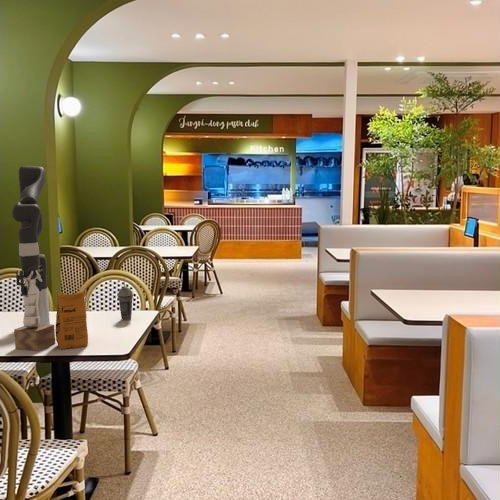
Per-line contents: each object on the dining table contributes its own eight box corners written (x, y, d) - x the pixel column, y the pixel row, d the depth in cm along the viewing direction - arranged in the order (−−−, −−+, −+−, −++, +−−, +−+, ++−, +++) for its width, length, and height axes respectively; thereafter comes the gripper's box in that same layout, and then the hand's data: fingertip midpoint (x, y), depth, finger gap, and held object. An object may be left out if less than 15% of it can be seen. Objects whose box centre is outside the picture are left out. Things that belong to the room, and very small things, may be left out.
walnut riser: (15, 348, 243) (14, 329, 242) (33, 341, 254) (32, 323, 253) (37, 350, 240) (36, 331, 239) (55, 343, 250) (54, 324, 249)
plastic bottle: (43, 326, 246) (42, 278, 245) (32, 329, 240) (31, 280, 239) (30, 325, 248) (29, 277, 247) (19, 328, 242) (18, 279, 241)
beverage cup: (121, 321, 286) (119, 280, 283) (117, 318, 292) (115, 277, 289) (135, 319, 289) (134, 278, 286) (131, 316, 295) (129, 276, 293)
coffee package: (55, 344, 249) (52, 292, 246) (86, 340, 253) (83, 289, 251) (57, 350, 240) (54, 296, 237) (89, 346, 244) (86, 293, 242)
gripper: (33, 251, 250) (36, 289, 252) (9, 255, 236) (12, 296, 238) (48, 251, 247) (50, 290, 249) (24, 256, 234) (27, 297, 236)
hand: (31, 293), depth 244 cm, fingers open, 8 cm apart
